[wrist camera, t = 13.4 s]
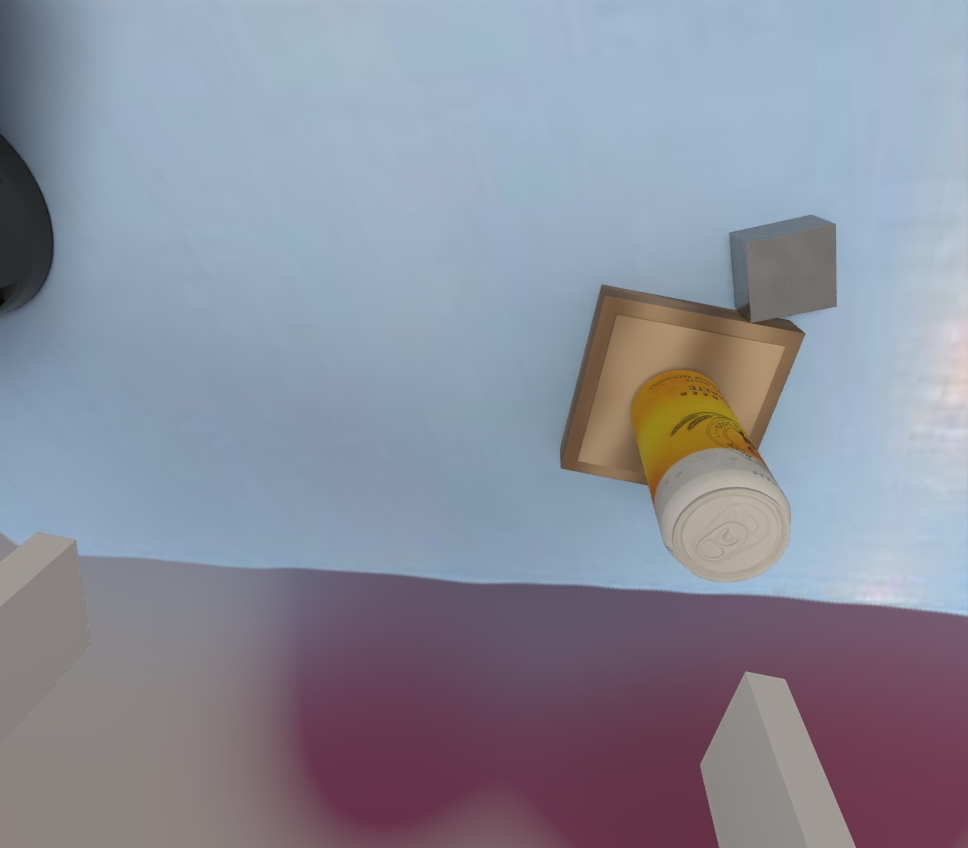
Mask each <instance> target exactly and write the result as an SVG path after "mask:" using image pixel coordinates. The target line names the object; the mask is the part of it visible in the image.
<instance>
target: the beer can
mask: <svg viewBox="0 0 968 848" xmlns="http://www.w3.org/2000/svg"><path fill="white" fill-rule="evenodd" d="M631 423H632V426H633V430H634V434H635V438H636V441H637V445H638V449H639V453H640V456H641V460H642V464H643V467H644V471H645V475H646V479H647V482H648V486H649V490H650V494H651V497H652V501H653V505H654V509H655V512H656V516H657V520H658V524H659V527H660V531H661V535H662V539H663V541H664V544H665V546H666V548H667V549H668V551H669V552H670V553H671V555H672V556H673V557H674V558H675V559H676V560H678V561H679V562H680V563H682V565H683V566H684V567H685V568H686V569H687V570H689V571H690V572H691V573H693V574H695V575H697V576H699V577H701V578H704V579H707V580H710V581H716V582H736V581H742V580H746V579H749V578H752V577H755V576H757V575H759V574H761V573H763V572H765V571H766V570H767V569H769V568H770V567H771V566H773V565H774V564H775V563H776V562H777V561H778V560H779V559H780V557H781V556H782V555H783V553H784V551H785V550H786V547H787V545H788V542H789V537H790V522H791V511H790V506H789V503H788V501H787V499H786V497H785V495H784V493H783V492H782V490H781V488H780V487H779V485H778V484H777V482H776V480H775V479H774V477H773V475H772V474H771V472H770V471H769V469H768V467H767V466H766V464H765V463H764V461H763V459H762V458H761V456H760V455H759V453H758V451H757V450H756V448H755V446H754V445H753V443H752V442H751V440H750V438H749V437H748V435H747V434H746V432H745V430H744V429H743V427H742V426H741V424H740V422H739V421H738V419H737V417H736V416H735V414H734V413H733V411H732V409H731V408H730V406H729V405H728V403H727V401H726V400H725V398H724V397H723V395H722V393H721V392H720V390H719V389H718V387H717V386H716V385H715V383H714V382H713V381H711V380H710V379H709V378H707V377H706V376H704V375H702V374H700V373H697V372H694V371H689V370H674V371H669V372H665V373H662V374H660V375H657V376H656V377H654V378H652V379H651V380H649V381H648V382H647V383H646V384H644V385H643V386H642V388H641V389H640V390H639V391H638V393H637V394H636V396H635V398H634V400H633V403H632V407H631Z"/></svg>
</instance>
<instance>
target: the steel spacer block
mask: <svg viewBox="0 0 968 848" xmlns="http://www.w3.org/2000/svg"><path fill="white" fill-rule="evenodd" d="M730 246H731V259H732V272H733V285H734V298H735V307H736V308H737V309H738V310H739V311H740V312H741V313H742V314H743V315H744V316H745V317H746V318H747V319H748V320H749V321H750V322H751V323H753V322H759V321H764V320H769V319H774V318H779V317H785V316H790V315H795V314H800V313H806V312H811V311H816V310H821V309H826V308H832V307H837V299H836V224H835V223H832V222H829V221H826V220H824V219H821V218H818V217H816V216H813V215H808V216H804V217H799V218H795V219H790V220H785V221H781V222H776V223H772V224H767V225H762V226H758V227H753V228H749V229H744V230H739V231H735V232H730Z"/></svg>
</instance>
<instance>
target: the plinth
mask: <svg viewBox="0 0 968 848" xmlns="http://www.w3.org/2000/svg"><path fill="white" fill-rule="evenodd" d="M804 336H805V333H804V332H803V331H802V330H800V329H799V328H798V327H797V326H796V325H794V324H793V323H792V322H791V321H790V320H785V319H779V318H774V319H769V320H764V321H759V322H753V323H751V322H750V321H749V320H748V319H747V318H746V317H745V316H744V315H743V314H742V313H741V312H740V311H737V310H732V309H727V308H722V307H716V306H711V305H706V304H701V303H695V302H690V301H685V300H680V299H674V298H669V297H664V296H659V295H654V294H648V293H643V292H638V291H633V290H627V289H622V288H617V287H612V286H606V285H602V286H601V290H600V294H599V298H598V302H597V306H596V310H595V314H594V318H593V321H592V325H591V329H590V333H589V337H588V341H587V345H586V349H585V353H584V357H583V361H582V365H581V369H580V373H579V377H578V381H577V385H576V389H575V393H574V397H573V401H572V405H571V409H570V413H569V416H568V420H567V424H566V428H565V432H564V436H563V440H562V444H561V448H560V458H561V469H567V470H572V471H577V472H582V473H587V474H592V475H598V476H603V477H608V478H613V479H618V480H623V481H629V482H634V483H639V484H644V485H648V482H647V479H646V475H645V471H644V467H643V464H642V460H641V456H640V453H639V449H638V445H637V441H636V438H635V434H634V430H633V426H632V423H631V407H632V403H633V400H634V398H635V396H636V394H637V393H638V391H639V390H640V389H641V388H642V386H643V385H644V384H646V383H647V382H648V381H649V380H651V379H652V378H654V377H656V376H657V375H660V374H662V373H665V372H669V371H674V370H689V371H694V372H697V373H700V374H702V375H704V376H706V377H707V378H709V379H710V380H711V381H713V382H714V383H715V385H716V386H717V387H718V389H719V390H720V392H721V393H722V395H723V397H724V398H725V400H726V401H727V403H728V405H729V406H730V408H731V409H732V411H733V413H734V414H735V416H736V417H737V419H738V421H739V422H740V424H741V426H742V427H743V429H744V430H745V432H746V434H747V435H748V437H749V438H750V440H751V442H752V443H753V445H754V446H755V448H756V450H757V451H758V448H759V446H760V443H761V441H762V438H763V436H764V433H765V431H766V429H767V426H768V424H769V421H770V419H771V416H772V414H773V412H774V409H775V407H776V404H777V402H778V399H779V397H780V394H781V392H782V390H783V387H784V385H785V382H786V380H787V377H788V375H789V373H790V370H791V368H792V365H793V363H794V360H795V358H796V355H797V353H798V351H799V348H800V346H801V343H802V341H803V338H804Z"/></svg>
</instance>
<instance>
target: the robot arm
mask: <svg viewBox="0 0 968 848" xmlns="http://www.w3.org/2000/svg"><path fill="white" fill-rule="evenodd" d="M51 255H52V235H51V227H50V221H49V217H48V213H47V210H46V206H45V204H44V201H43V198H42V196H41V193H40V191H39V189H38V187H37V185H36V183H35V181H34V179H33V177H32V176H31V174H30V172H29V171H28V169H27V167H26V166H25V164H24V163H23V162H22V160H21V159H20V157H19V156H18V155H17V154H16V152H15V151H14V150H13V149H12V147H11V146H10V145H9V144H8V143H7V142H6V141H5V140H4V139H3V138H2V137H1V136H0V314H2V313H5V312H8V311H10V310H13V309H15V308H18V307H20V306H21V305H23V304H25V303H26V302H27V301H29V300H30V299H31V298H32V297H33V296H34V295H35V294H36V293H37V291H38V290H39V289H40V287H41V286H42V284H43V282H44V280H45V278H46V276H47V273H48V270H49V266H50V262H51ZM90 645H91V642H90V635H89V628H88V621H87V614H86V607H85V600H84V593H83V587H82V579H81V573H80V565H79V558H78V551H77V544H76V540H74V539H69V538H64V537H59V536H54V535H49V534H44V533H39V532H37V533H36V534H34V535H33V536H32V537H31V538H29V539H28V540H27V541H26V542H24V543H23V544H22V545H21V546H20V547H18V548H17V549H16V550H15V551H13V552H12V553H11V554H10V555H8V556H7V557H6V558H5V559H3V560H2V561H1V562H0V747H1V746H2V745H3V744H4V743H5V741H6V740H7V739H8V738H9V737H10V736H11V735H12V734H13V732H14V731H15V730H16V729H17V728H18V727H19V726H20V724H21V723H22V722H23V721H24V720H25V719H26V718H27V716H28V715H29V714H30V713H31V712H32V711H33V710H34V708H35V707H36V706H37V705H38V704H39V703H40V702H41V701H42V699H43V698H44V697H45V696H46V694H48V692H49V691H50V690H51V689H52V688H53V687H54V686H55V685H56V683H57V682H58V681H59V680H60V679H61V678H62V677H63V675H64V674H65V673H66V672H67V671H68V670H69V669H70V667H71V666H72V665H73V664H74V663H75V662H76V661H77V659H78V658H79V657H80V656H81V655H82V654H83V652H84V651H85V650H86V649H87V648H88V647H89V646H90ZM700 767H701V771H702V776H703V780H704V784H705V788H706V792H707V797H708V801H709V806H710V810H711V814H712V819H713V823H714V827H715V831H716V836H717V840H718V844H719V848H856V847H855V845H854V842H853V840H852V837H851V835H850V833H849V831H848V828H847V826H846V823H845V821H844V818H843V816H842V814H841V811H840V809H839V807H838V804H837V802H836V799H835V797H834V795H833V792H832V790H831V788H830V785H829V783H828V781H827V778H826V776H825V773H824V771H823V768H822V766H821V764H820V761H819V759H818V757H817V755H816V752H815V749H814V747H813V745H812V742H811V740H810V738H809V735H808V733H807V730H806V728H805V726H804V723H803V721H802V719H801V716H800V714H799V712H798V709H797V707H796V704H795V702H794V699H793V697H792V695H791V693H790V690H789V688H788V685H787V683H786V680H785V679H780V678H775V677H770V676H765V675H760V674H755V673H750V672H745V674H744V676H743V678H742V680H741V682H740V684H739V686H738V688H737V690H736V692H735V694H734V696H733V698H732V701H731V702H730V705H729V707H728V709H727V711H726V713H725V715H724V717H723V719H722V721H721V723H720V725H719V727H718V729H717V732H716V733H715V735H714V737H713V740H712V742H711V744H710V746H709V748H708V750H707V752H706V754H705V756H704V758H703V760H702V762H701V764H700Z"/></svg>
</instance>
